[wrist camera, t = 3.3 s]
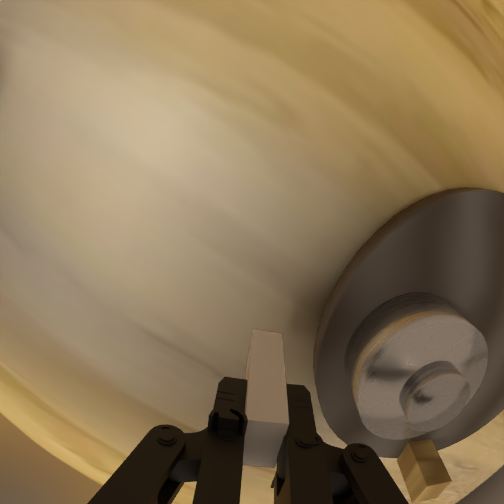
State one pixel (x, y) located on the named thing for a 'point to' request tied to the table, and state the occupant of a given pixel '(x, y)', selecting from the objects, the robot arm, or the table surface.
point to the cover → (413, 365)
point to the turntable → (430, 281)
